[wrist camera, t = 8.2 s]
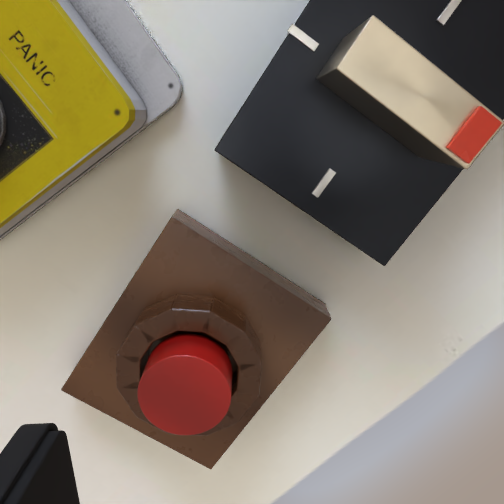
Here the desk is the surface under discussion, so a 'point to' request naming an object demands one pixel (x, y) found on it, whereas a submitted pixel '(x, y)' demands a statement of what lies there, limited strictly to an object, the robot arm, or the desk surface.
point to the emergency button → (71, 94)
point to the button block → (199, 331)
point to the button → (186, 385)
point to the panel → (361, 118)
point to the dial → (408, 96)
